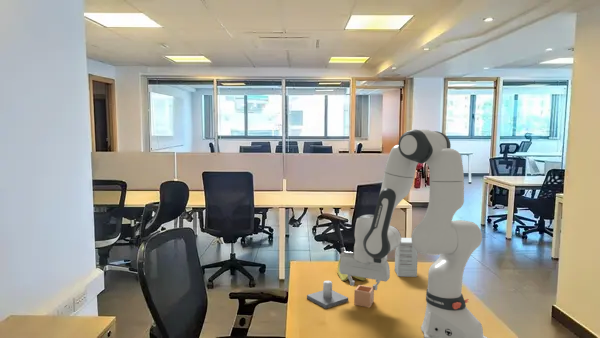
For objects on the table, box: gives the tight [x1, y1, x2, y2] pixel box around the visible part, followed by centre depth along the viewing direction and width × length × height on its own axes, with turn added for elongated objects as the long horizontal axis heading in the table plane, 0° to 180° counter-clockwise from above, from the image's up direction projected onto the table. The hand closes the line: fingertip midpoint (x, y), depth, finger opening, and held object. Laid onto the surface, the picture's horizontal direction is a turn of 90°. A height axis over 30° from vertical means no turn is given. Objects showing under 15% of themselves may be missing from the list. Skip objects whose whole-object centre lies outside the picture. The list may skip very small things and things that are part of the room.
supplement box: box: [394, 237, 419, 278], centre depth 205 cm, size 10×9×17 cm
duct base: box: [306, 280, 349, 309], centre depth 172 cm, size 12×12×8 cm
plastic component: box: [336, 258, 366, 282], centre depth 203 cm, size 20×7×10 cm
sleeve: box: [353, 284, 375, 308], centre depth 170 cm, size 6×6×6 cm
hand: (363, 287), depth 170 cm, fingers open, 8 cm apart
